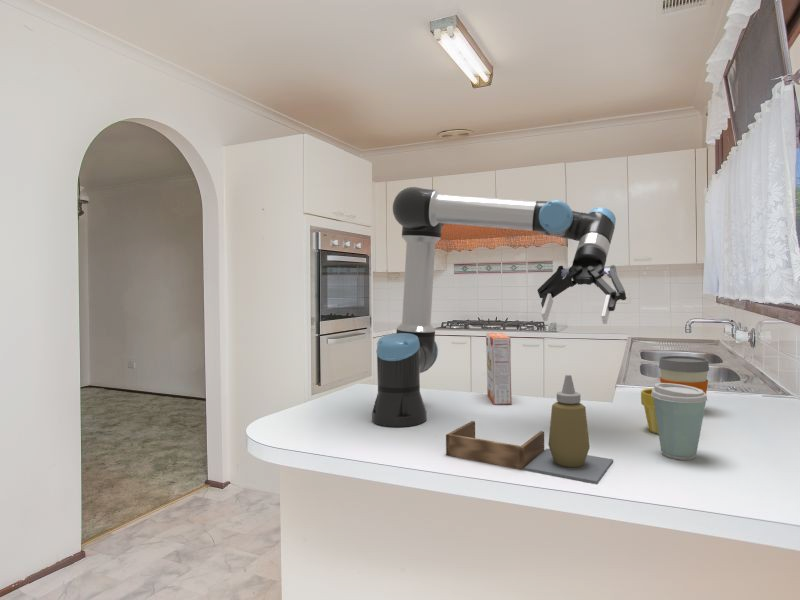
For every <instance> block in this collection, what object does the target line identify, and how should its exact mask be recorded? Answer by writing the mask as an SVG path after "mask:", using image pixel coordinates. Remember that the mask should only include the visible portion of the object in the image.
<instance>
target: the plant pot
mask: <svg viewBox="0 0 800 600" xmlns="http://www.w3.org/2000/svg"><path fill="white" fill-rule="evenodd" d="M652 389H653V388H645V389H644V388H643V389H642V390H641V391H640V401H641V402H640V403H641V405H642V406H643V408H644V413H645V418H646V421H647V426H648V427H647V428H648V431H650V432H651V433H654V434H657V435H659V433H658V426H657V419H656V412H655V405H654V399H653V396H651V393H652Z"/></svg>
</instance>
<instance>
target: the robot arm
mask: <svg viewBox="0 0 800 600" xmlns="http://www.w3.org/2000/svg"><path fill="white" fill-rule="evenodd" d="M392 213H393V214H392V215H393V216H394V219H395V220H396V221H397V222H398V225H401V228H402V229H401V238H402V239H403V240H404V242H405V243H406V247H405V248H406V249H405V264H404V281H403V282H404V283H403V285H404V286H403V300H402V301H403V302H402V316H401V320H402V321H401V323H400V324H399V325H398V326H397V327H396V331H395V333H391V334H386V335H384V336H381V337H380V338H379V339H378V340H377V343H376V345H377V347H376V350H375V352H376V363H377V364H376V366H377V367H376V370H377V372H376V373H377V374H376V375H377V394H376V398H375V401H374V405H373V409H372V411H371V421H372V423H374V424H376V425H379V426H383V427H393V428H401V427H412V426H417V425H421V424H423V423H425V422H427V420H428V419H427V418H428V417H427V416H428V415H427V410H426V406H425V404H424V399H423V397H422V394H421V391H420V390H421V389H420V388H421V385H420V383H421V382H420V376H421V375H420V374H422V373H425V372H426V371H428V370H429V369H430V368H432V366H434V364H435V363H436V361H437V358H438V355H439V349H438V344H437V342H436V340H435V339H436V338H435V337H436V329H435V328H434V327H433V326H432V324H431V322H432V320H431V319H432V308H433V307H432V306H433V304H432V303H433V292H434V291H433V288H434V274H435V271H434V270H435V257H436V245H437V243H438V242H439V241H441V239H442V229H443V227H444V225H445V224H448V225H456V226H457V225H459V226H472V227H483V228H493V229H495V228H496V229H505V230H506V229H507V230H516V231H517V230H518V231H528V232H529V231H533V232H537V233H538V234H544V236H545V235H546V236H549V237H550V236H551V237H557V238H562V239H567V240H573V241H577V242H578V245H577V247H576V251H575V254H574V257H573V259H572V260H573V261H572V265H571V266H570V267H568V268H567V267H565V268H564V266H563V265H559V266H558V267H557V269H556V271H555V272H554V273H553V274H552V275H550V277H549V278H548V279H547V280H546V281H545V282H544V283H543V284H542V285H540V287H538V288H537V293H538V296H539V298H540V299H542V300H541V302H540V305H541V308H542V310H541V313H540V314H541V317H542V320H543V322H547V321H548V318H549V315H550V312H551V311H552V310H551V309H552V306H553V302H554V299H553V298H556V297H557V296H558V295H559V294H561V293H562V292H564V291H566V290H567V289H569V288H570V287H571V288H573V287H574V286H575V285H578V286H579V285H581V286H582V285H588V286H590V285H592V284H593V285H595V286H596V287H597V288H599V289H600V290H601V291H602V293H604V294H605V299H604V303H603V307H602V310H601V311H602V312H601V315H600V317H601V321H602V324H603V325H608V320H609V315H610V312H614V311H615V310H616V305H617V302H618V301H620V300H621V301H626V300H627V295H626V290H625V288H624V286H623V284H622V282H621V280H620V277H618V273H617V268H616V265H615V264H611V265H610V266H609V267H607V268H605V266H606V262H607V258H608V254H609V251H610V246H611V243H612V240H613V235H614V232H615V230H616V229H615V226H616V216H615V214H614V212H613V211H612V210H611V209H609V208H606V207H602V206H601V207H600V206H599V207H596V208H592V209H590V210H589V212H588V213H587V212H580V211H575V210H573V209H572V208H571V206H570V205H569V204H568V203H567V202H565V201H563V200H558V199H554V200H549V201H545V200H530V199H517V198H516V199H515V198H502V197H501V198H500V197H488V196H487V197H486V196H471V195H459V194H458V195H456V194H444V193H443V194H442V193H441V192H440V190H438V189H428V188H422V187H418V186H409V187H406V188H403V189H402V190H401V191H400V192H398V193H397V195H395V198H394V200H393V203H392ZM605 275H607V277H608V278H610V279H611V283H612V284H613V286H614V288H615V289H613V288H612V287H611V286H610V284H608V283H607V281H605V280H604V279H603V277H604V276H605Z"/></svg>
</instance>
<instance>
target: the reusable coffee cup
mask: <svg viewBox="0 0 800 600" xmlns="http://www.w3.org/2000/svg"><path fill="white" fill-rule="evenodd" d="M709 365H710V364H709V360H708V358H704V357H698V356H686V355H666V356H664V355H663V356H660V357H659V362H658V369H659V370H660V377H659V383H672V384H680V385H686V386H691V387H695V388H698V389H701V390H703V392H705V394H706V395H707V390H708V385H709V380H708V378H707V377H708V373H709V371H710V366H709Z"/></svg>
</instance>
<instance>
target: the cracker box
mask: <svg viewBox="0 0 800 600" xmlns="http://www.w3.org/2000/svg"><path fill="white" fill-rule="evenodd" d="M485 343H486V345H485V346H486V347H485V348H486V385H487V386H486V387H487V393H486V394H487V396H488V397H489V398H490V401H491V402H492V404H493V405H494V404H502V405H512V399H513V398H512V365H511V364H512V363H511V361H512V360H511V358H512V357H511V355H512V354H511V353H512V351H511V349H512V348H511V347H512V346H511V337H509V336H508V335H506V334H505V333H503V332H488V333H487V332H486V333H485Z"/></svg>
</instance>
